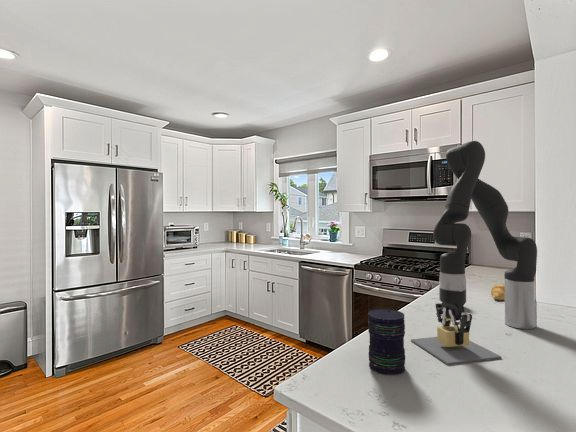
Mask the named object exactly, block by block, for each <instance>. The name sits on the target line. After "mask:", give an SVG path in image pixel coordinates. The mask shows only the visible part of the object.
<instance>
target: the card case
mask: <svg viewBox="0 0 576 432" xmlns="http://www.w3.org/2000/svg"><path fill="white" fill-rule="evenodd" d="M458 327H459V329H460V325H458ZM436 332H437V336H436V337H437V339H438V342H440V343H441V344H443V345H445V346H446V347H453V346H466V345H469V340H470V331H469V332H466V333H464V342H463V344H462V345H457V344H455V332H456V331H455V327H454V325H450V326H444V327H443V326H437V331H436Z"/></svg>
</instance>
